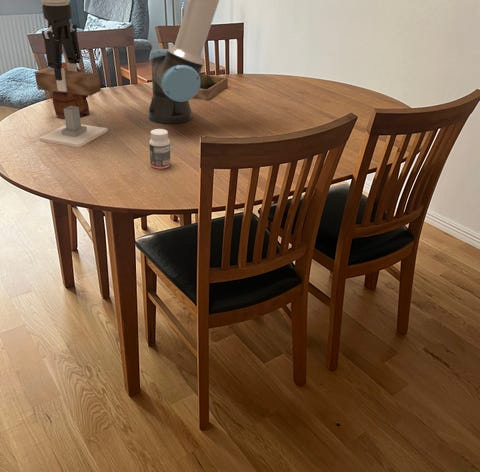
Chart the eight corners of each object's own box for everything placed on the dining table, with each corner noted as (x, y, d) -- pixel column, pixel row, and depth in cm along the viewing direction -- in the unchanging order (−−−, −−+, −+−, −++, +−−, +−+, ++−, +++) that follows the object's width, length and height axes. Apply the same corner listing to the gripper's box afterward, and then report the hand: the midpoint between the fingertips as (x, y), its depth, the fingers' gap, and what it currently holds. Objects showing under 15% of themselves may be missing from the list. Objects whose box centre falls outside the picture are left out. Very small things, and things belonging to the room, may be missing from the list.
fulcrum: (107, 131, 166) (105, 104, 161) (79, 147, 153) (75, 118, 148) (70, 125, 169) (67, 98, 165) (40, 140, 156) (35, 112, 151)
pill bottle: (151, 161, 146) (149, 127, 141) (171, 161, 146) (170, 128, 141) (149, 169, 141) (147, 135, 136) (170, 169, 142) (169, 135, 136)
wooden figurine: (62, 121, 172) (54, 66, 163) (53, 116, 176) (45, 63, 167) (93, 114, 180) (87, 62, 170) (84, 110, 183) (78, 58, 174)
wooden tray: (227, 87, 218) (227, 77, 216) (208, 100, 200) (208, 90, 198) (195, 83, 222) (195, 73, 220) (173, 95, 204) (173, 85, 202)
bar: (100, 90, 152) (98, 73, 150) (90, 95, 148) (88, 78, 145) (48, 84, 157) (46, 68, 154) (37, 89, 152) (34, 72, 150)
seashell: (206, 83, 221) (209, 68, 216) (221, 92, 217) (224, 77, 212) (178, 89, 210) (181, 73, 205) (193, 99, 206) (196, 83, 202)
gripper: (63, -1, 148) (75, 79, 161) (22, 6, 133) (38, 94, 145) (86, 0, 147) (96, 82, 159) (47, 8, 131) (61, 97, 144)
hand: (68, 88), depth 152 cm, fingers closed on bar, 5 cm apart
